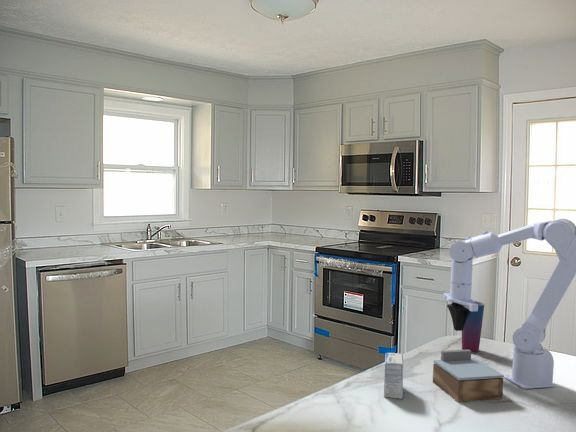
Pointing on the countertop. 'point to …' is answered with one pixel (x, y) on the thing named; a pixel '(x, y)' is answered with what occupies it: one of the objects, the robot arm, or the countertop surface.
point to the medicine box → (393, 375)
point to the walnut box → (468, 386)
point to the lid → (465, 366)
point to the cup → (473, 329)
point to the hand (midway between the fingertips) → (458, 330)
